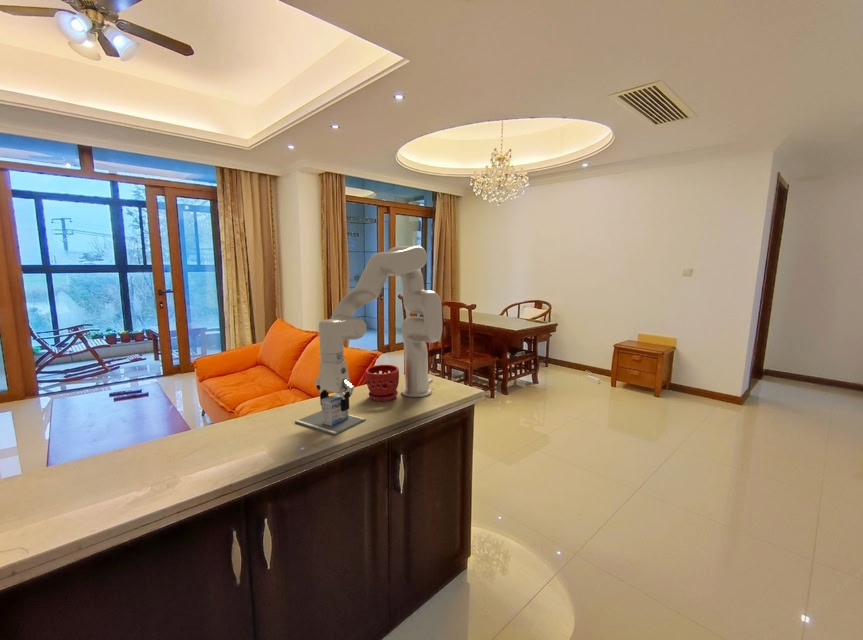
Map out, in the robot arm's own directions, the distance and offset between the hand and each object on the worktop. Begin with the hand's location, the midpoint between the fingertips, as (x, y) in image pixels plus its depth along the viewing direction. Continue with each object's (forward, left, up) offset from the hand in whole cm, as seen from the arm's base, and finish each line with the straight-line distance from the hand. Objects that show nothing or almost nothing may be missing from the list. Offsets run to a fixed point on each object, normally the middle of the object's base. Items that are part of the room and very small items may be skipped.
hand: (334, 407), depth 130 cm
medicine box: (0, 0, -5) cm, 5 cm away
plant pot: (-28, -3, -6) cm, 29 cm away
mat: (0, -2, -6) cm, 6 cm away
